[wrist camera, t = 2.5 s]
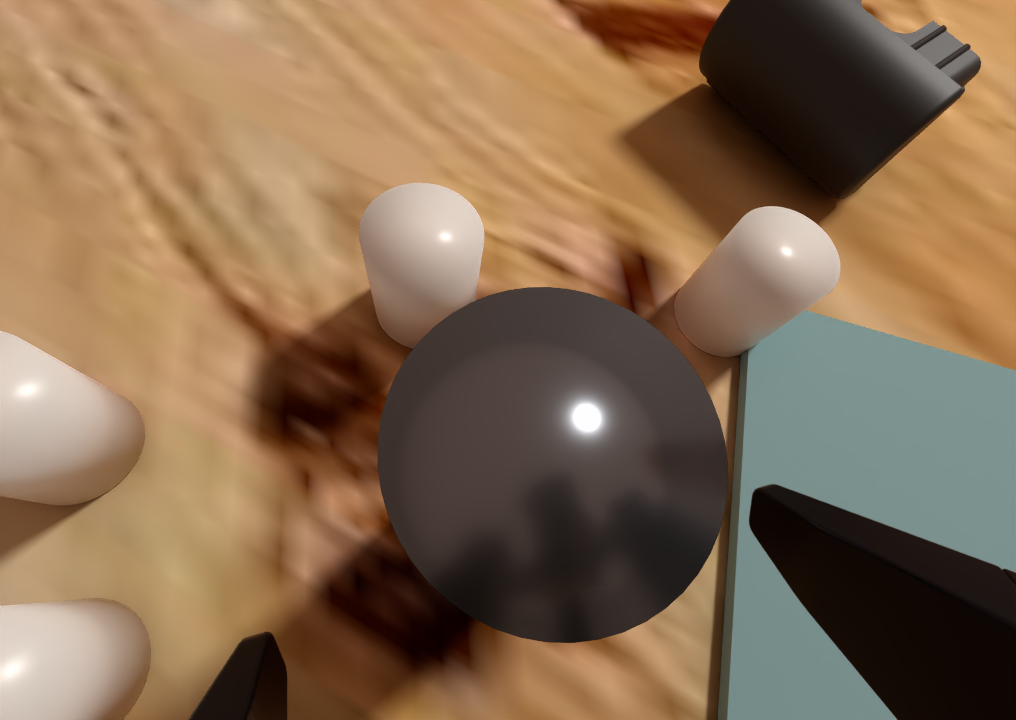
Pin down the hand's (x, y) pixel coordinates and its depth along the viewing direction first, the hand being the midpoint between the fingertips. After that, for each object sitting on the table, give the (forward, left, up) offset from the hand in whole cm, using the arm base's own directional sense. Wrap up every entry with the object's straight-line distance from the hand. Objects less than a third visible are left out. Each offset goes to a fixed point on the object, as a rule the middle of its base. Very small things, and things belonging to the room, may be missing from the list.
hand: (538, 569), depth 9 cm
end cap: (+26, -7, -10) cm, 29 cm away
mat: (+7, -15, -9) cm, 19 cm away
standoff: (+1, +1, -9) cm, 9 cm away
